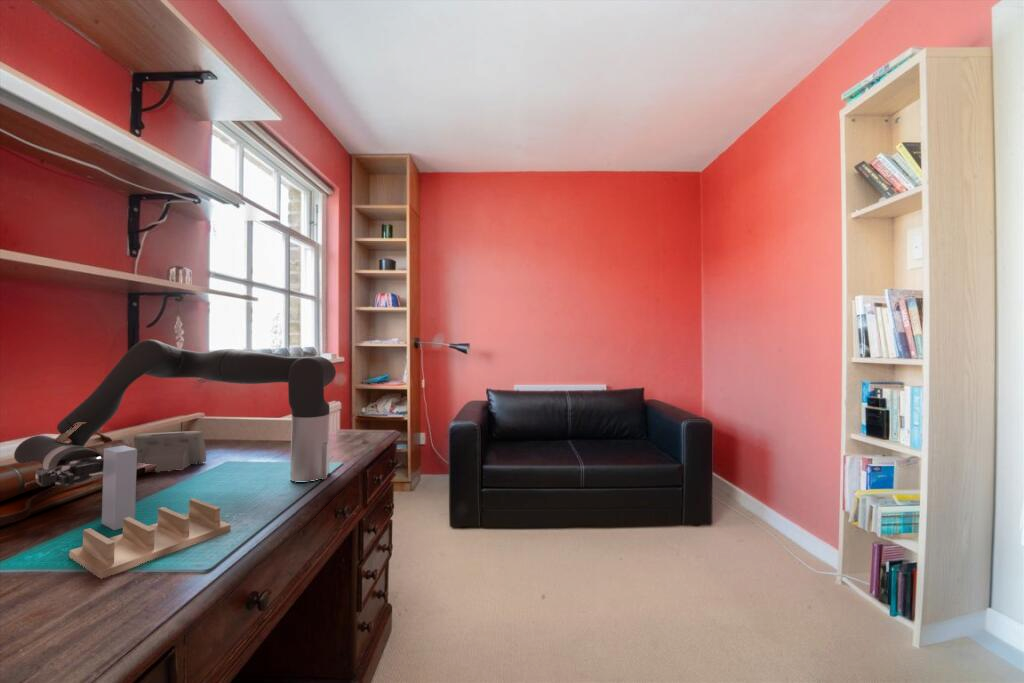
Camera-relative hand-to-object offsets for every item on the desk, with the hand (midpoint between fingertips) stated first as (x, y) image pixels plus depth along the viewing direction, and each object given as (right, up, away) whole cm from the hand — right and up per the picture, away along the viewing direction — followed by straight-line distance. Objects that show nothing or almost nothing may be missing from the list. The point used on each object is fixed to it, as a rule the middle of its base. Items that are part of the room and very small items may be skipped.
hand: (101, 474), depth 82 cm
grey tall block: (+8, -8, -4) cm, 13 cm away
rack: (+22, -9, -12) cm, 27 cm away
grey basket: (-13, -9, +31) cm, 35 cm away
